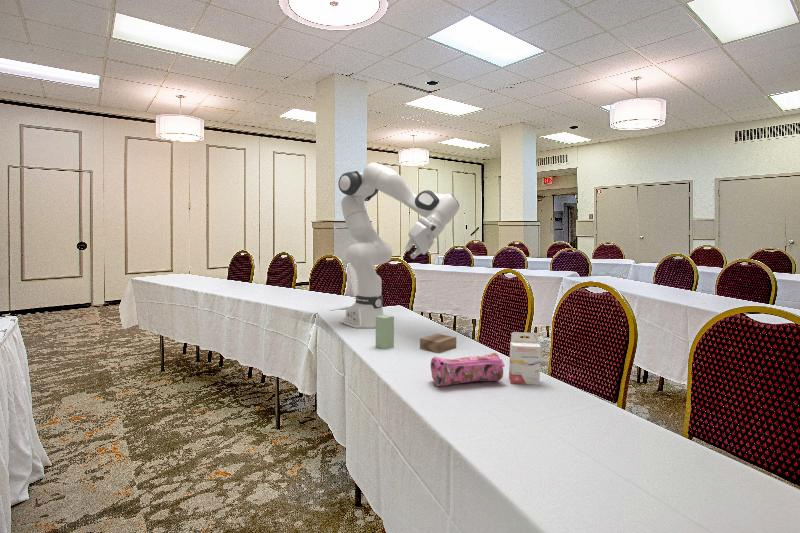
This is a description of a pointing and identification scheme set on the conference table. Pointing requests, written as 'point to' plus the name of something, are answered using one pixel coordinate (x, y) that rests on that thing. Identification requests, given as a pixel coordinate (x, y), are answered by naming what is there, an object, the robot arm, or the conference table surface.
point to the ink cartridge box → (524, 358)
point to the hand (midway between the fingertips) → (408, 254)
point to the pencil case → (466, 369)
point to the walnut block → (437, 343)
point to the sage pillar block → (384, 331)
